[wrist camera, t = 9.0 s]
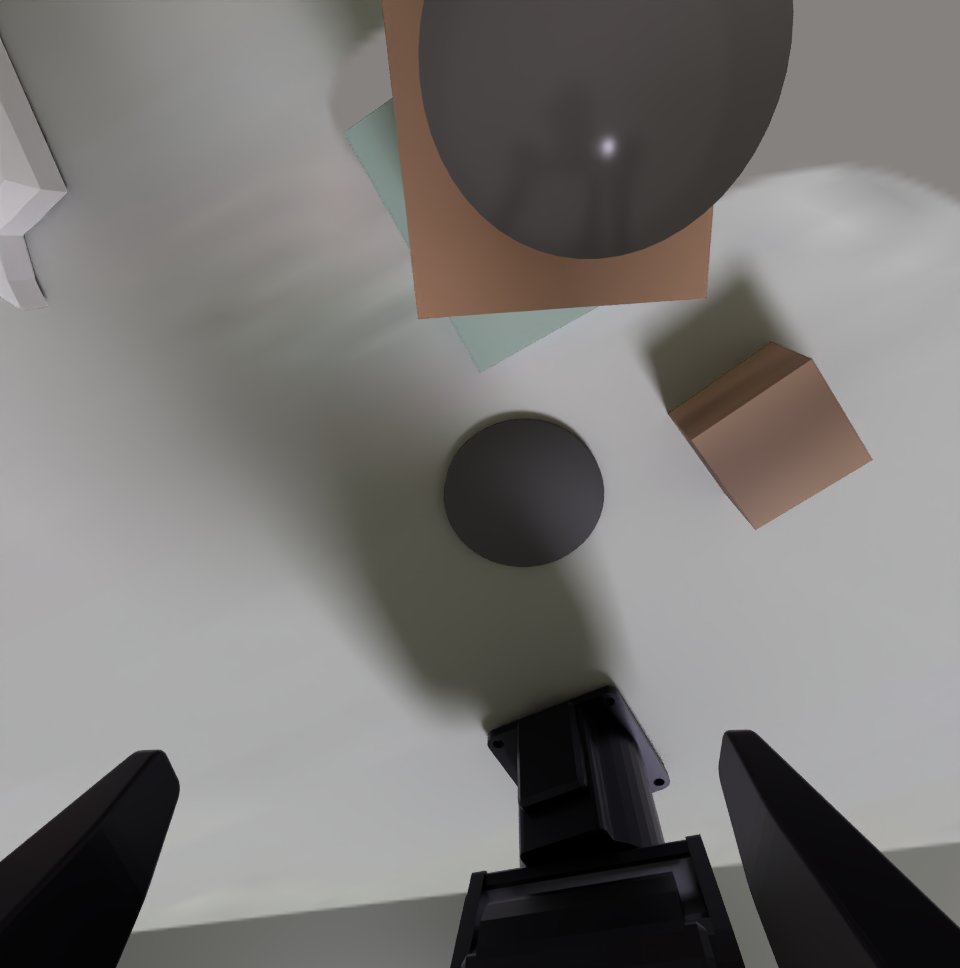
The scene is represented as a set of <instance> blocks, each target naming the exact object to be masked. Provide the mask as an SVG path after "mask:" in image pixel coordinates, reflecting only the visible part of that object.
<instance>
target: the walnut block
mask: <svg viewBox="0 0 960 968" xmlns="http://www.w3.org/2000/svg"><path fill="white" fill-rule="evenodd" d="M668 415H669V416H670V417H671V419H672V420H673V422H674V423H675V424H676V426H677V427H678V429H679V430H680V431H681V433H682V434H683V436H684V437H685V438H686V440H687V441H688V443H689V444H690V445H691V447H692V448H693V450H694V451H695V452H696V454H697V455H698V457H699V458H700V459H701V461H702V462H703V463H704V465H705V466H706V468H707V469H708V470H709V472H710V473H711V475H712V476H713V477H714V479H715V480H716V482H717V483H718V484H719V486H720V487H721V489H722V490H723V491H724V493H725V494H726V495H727V497H728V498H729V499H730V500H731V501H732V503H733V504H734V505H735V506H736V507H737V509H738V510H739V511H740V512H741V513H742V515H743V516H744V517H745V518H746V519H747V520H748V522H749V523H750V524H751V525H752V526H753V528H754V529H755V530H756V529H758V528H760V527H761V526H763V525H765V524H766V523H768V522H770V521H771V520H773V519H775V518H776V517H778V516H780V515H781V514H783V513H785V512H786V511H788V510H790V509H791V508H793V507H795V506H796V505H798V504H800V503H801V502H803V501H805V500H806V499H808V498H810V497H811V496H813V495H815V494H816V493H818V492H820V491H822V490H823V489H825V488H827V487H828V486H830V485H832V484H833V483H835V482H837V481H838V480H840V479H842V478H843V477H845V476H847V475H848V474H850V473H852V472H853V471H855V470H857V469H858V468H860V467H862V466H863V465H865V464H867V463H868V462H870V461H872V460H873V459H872V458H871V456H870V454H869V453H868V451H867V449H866V448H865V446H864V444H863V443H862V441H861V439H860V438H859V436H858V434H857V433H856V431H855V429H854V428H853V426H852V424H851V423H850V421H849V419H848V418H847V416H846V414H845V413H844V411H843V409H842V408H841V406H840V404H839V403H838V401H837V399H836V398H835V396H834V394H833V393H832V391H831V389H830V388H829V386H828V384H827V383H826V381H825V379H824V378H823V376H822V374H821V373H820V371H819V369H818V368H817V366H816V364H815V363H814V361H813V359H811V358H809V357H806V356H804V355H801V354H799V353H797V352H794V351H792V350H789V349H787V348H784V347H782V346H779V345H777V344H775V343H772V342H770V343H769V344H767V345H766V346H765V347H763V348H762V349H760V350H759V351H757V352H756V353H755V354H753V355H752V356H750V357H749V358H747V359H746V360H745V361H743V362H742V363H740V364H739V365H737V366H736V367H734V368H733V369H732V370H730V371H729V372H727V373H726V374H724V375H723V376H722V377H720V378H719V379H717V380H716V381H714V382H713V383H712V384H710V385H709V386H707V387H706V388H704V389H703V390H701V391H700V392H699V393H697V394H696V395H694V396H693V397H691V398H690V399H689V400H687V401H686V402H684V403H683V404H681V405H680V406H679V407H677V408H676V409H674V410H673V411H671V412H670V413H669V414H668Z"/></svg>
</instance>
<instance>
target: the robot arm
mask: <svg viewBox="0 0 960 968" xmlns="http://www.w3.org/2000/svg"><path fill="white" fill-rule="evenodd" d="M608 697H611V699H605V698H608ZM496 740H501V741H496ZM488 747H489V749H490V750H491V751H492V753H493V754H494V755H495V757H496V758H497V759H498V761H499V762H500V763H501V765H502V766H503V767H504V769H505V770H506V771H507V773H508V774H509V775H510V777H511V778H512V779H513V781H514V782H515V784H516V785H517V786H518V803H519V850H520V868H515V869H509V870H503V871H497V872H491V873H487V871H481V872H475V873H472V875H471V880H470V884H469V889H468V893H467V895H466V898H465V902H464V907H463V912H462V916H461V920H460V925H459V930H458V934H457V939H456V944H455V948H454V953H453V958H452V962H451V967H450V968H745V965H744V962H743V959H742V956H741V953H740V950H739V947H738V944H737V941H736V938H735V935H734V932H733V929H732V926H731V923H730V920H729V917H728V914H727V911H726V908H725V905H724V903H723V900H722V897H721V894H720V891H719V888H718V885H717V882H716V879H715V877H714V874H713V871H712V868H711V865H710V862H709V859H708V856H707V853H706V850H705V847H704V844H703V841H702V839H701V836H700V834H699V835H693V836H687V837H686V840H681V841H675V842H669V843H665V842H664V838H663V834H662V830H661V826H660V823H659V819H658V815H657V811H656V807H655V803H654V800H653V796H652V793H653V792H656V791H659V790H662V789H664V788H666V787H667V786H668V785H669V784H670V780H669V776H668V773H667V771H666V769H665V767H664V766H663V764H662V762H661V761H660V759H659V757H658V756H657V754H656V752H655V751H654V749H653V748H652V746H651V744H650V743H649V741H648V739H647V738H646V736H645V734H644V733H643V731H642V729H641V728H640V726H639V724H638V723H637V721H636V719H635V718H634V716H633V715H632V713H631V711H630V710H629V708H628V706H627V705H626V703H625V701H624V700H623V698H622V696H621V695H620V693H619V691H618V690H617V689H616V688H614V687H611V686H606V687H602V688H600V689H597V690H594V691H592V692H589V693H587V694H584V695H582V696H579V697H576V698H574V699H571V700H569V701H566V702H564V703H561V704H559V705H556V706H553V707H551V708H548V709H546V710H543V711H541V712H538V713H536V714H533V715H530V716H528V717H525V718H523V719H520V720H518V721H515V722H512V723H510V724H507V725H505V726H502V727H500V728H497V729H495V730H492V731H491V732H490V733H489V734H488ZM719 777H720V782H721V786H722V790H723V794H724V797H725V801H726V805H727V808H728V812H729V816H730V820H731V823H732V827H733V831H734V834H735V838H736V842H737V846H738V849H739V853H740V857H741V860H742V864H743V868H744V871H745V875H746V878H747V882H748V885H749V888H750V892H751V894H752V897H753V900H754V903H755V906H756V909H757V911H758V914H759V916H760V919H761V922H762V925H763V927H764V930H765V933H766V935H767V938H768V941H769V943H770V946H771V948H772V951H773V954H774V956H775V959H776V962H777V964H778V967H779V968H960V927H959V926H958V925H956V923H954V922H953V921H952V920H951V919H950V918H949V917H948V916H947V915H946V914H945V913H944V912H943V911H942V910H941V909H940V908H939V907H938V906H937V905H936V904H935V903H934V902H932V901H931V900H930V899H929V898H928V897H927V896H926V895H925V894H924V893H923V892H922V891H921V890H920V889H919V888H918V887H917V886H916V885H915V884H914V883H913V882H911V880H909V879H908V878H907V877H906V876H905V875H904V874H903V873H902V872H901V871H900V870H899V869H898V868H897V867H896V866H895V865H894V864H893V863H891V862H890V860H889V859H887V858H886V857H885V856H884V855H883V854H882V853H881V852H880V851H879V850H878V849H877V848H876V847H875V846H874V845H873V844H872V843H871V842H870V841H869V840H868V839H867V838H866V837H864V836H863V835H862V834H861V833H860V832H859V831H858V830H857V829H856V828H855V827H854V826H853V825H852V824H851V823H850V822H849V821H848V820H847V819H846V818H845V817H844V816H842V815H841V814H840V813H839V812H838V811H837V810H836V809H835V808H834V807H833V806H832V805H831V804H830V803H829V802H828V801H827V800H826V799H825V798H824V797H823V796H822V795H821V794H819V793H818V792H817V791H816V790H815V789H814V788H813V787H812V786H811V785H810V784H809V783H808V782H807V781H806V780H805V779H804V778H803V777H802V776H801V775H800V774H799V773H797V772H796V771H795V770H794V769H793V768H792V767H791V766H790V765H789V764H788V763H787V762H786V761H785V760H784V759H783V758H782V757H781V756H780V755H779V754H778V753H777V752H775V751H774V750H773V749H772V748H771V747H770V746H769V745H768V744H767V743H766V742H765V741H764V740H763V739H762V738H761V737H760V736H759V735H758V734H756V733H755V732H753V731H751V730H728V731H726V732H725V733H724V735H723V739H722V746H721V753H720V759H719ZM179 792H180V785H179V780H178V778H177V776H176V774H175V772H174V769H173V767H172V765H171V763H170V761H169V759H168V757H167V755H166V753H165V752H163V751H162V750H141V751H137V752H135V753H133V754H132V755H130V756H129V757H128V758H126V759H125V760H124V761H123V762H122V763H120V764H119V765H118V766H117V767H115V768H114V769H113V770H112V771H111V772H109V773H108V774H107V775H106V776H104V777H103V778H102V779H101V780H100V781H98V782H97V783H96V784H95V785H93V786H92V787H91V788H90V789H89V790H87V791H86V792H85V793H84V794H82V795H81V796H80V797H79V798H78V799H76V800H75V801H74V802H73V803H71V804H70V805H69V806H68V807H67V808H65V809H64V810H63V811H62V812H60V813H59V814H58V815H57V816H56V817H54V818H53V819H52V820H51V821H49V822H48V823H47V824H46V825H45V826H43V827H42V828H41V829H40V830H38V831H37V832H36V833H35V834H34V835H32V836H31V837H30V838H29V839H27V840H26V841H25V842H24V843H23V844H21V845H20V846H19V847H18V848H16V849H15V850H14V851H13V852H12V853H10V854H9V855H8V856H7V857H5V858H4V859H3V860H2V861H1V862H0V968H116V966H117V964H118V962H119V959H120V957H121V955H122V952H123V950H124V948H125V945H126V943H127V941H128V938H129V936H130V934H131V931H132V929H133V927H134V924H135V922H136V920H137V917H138V915H139V912H140V910H141V907H142V905H143V902H144V900H145V897H146V894H147V892H148V889H149V886H150V883H151V880H152V877H153V874H154V871H155V868H156V865H157V862H158V859H159V856H160V853H161V850H162V847H163V843H164V840H165V837H166V834H167V831H168V828H169V825H170V822H171V819H172V816H173V813H174V810H175V807H176V804H177V801H178V797H179Z"/></svg>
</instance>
